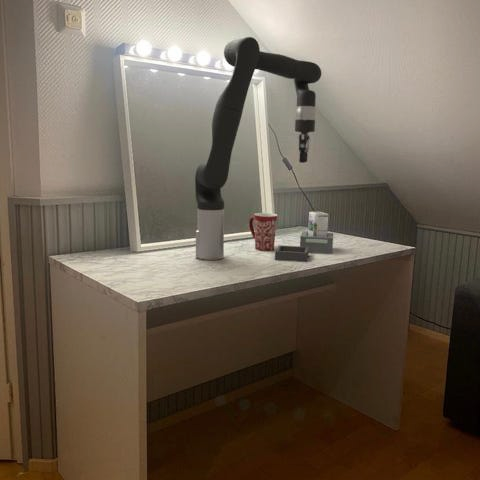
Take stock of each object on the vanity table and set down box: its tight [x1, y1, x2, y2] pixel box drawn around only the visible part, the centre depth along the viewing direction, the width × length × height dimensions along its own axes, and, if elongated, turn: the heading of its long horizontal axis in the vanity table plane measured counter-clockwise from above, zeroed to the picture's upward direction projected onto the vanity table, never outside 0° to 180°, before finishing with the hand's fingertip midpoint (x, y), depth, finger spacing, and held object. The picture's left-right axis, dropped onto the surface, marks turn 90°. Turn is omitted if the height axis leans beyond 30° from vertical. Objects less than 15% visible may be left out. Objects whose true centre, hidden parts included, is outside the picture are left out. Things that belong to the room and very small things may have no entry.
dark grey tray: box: [274, 245, 309, 263], centre depth 176 cm, size 11×11×3 cm
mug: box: [248, 212, 279, 252], centre depth 190 cm, size 13×9×14 cm
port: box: [299, 230, 334, 255], centre depth 189 cm, size 12×12×6 cm
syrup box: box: [307, 211, 329, 237], centre depth 189 cm, size 6×6×14 cm
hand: (303, 162), depth 190 cm, fingers open, 8 cm apart
